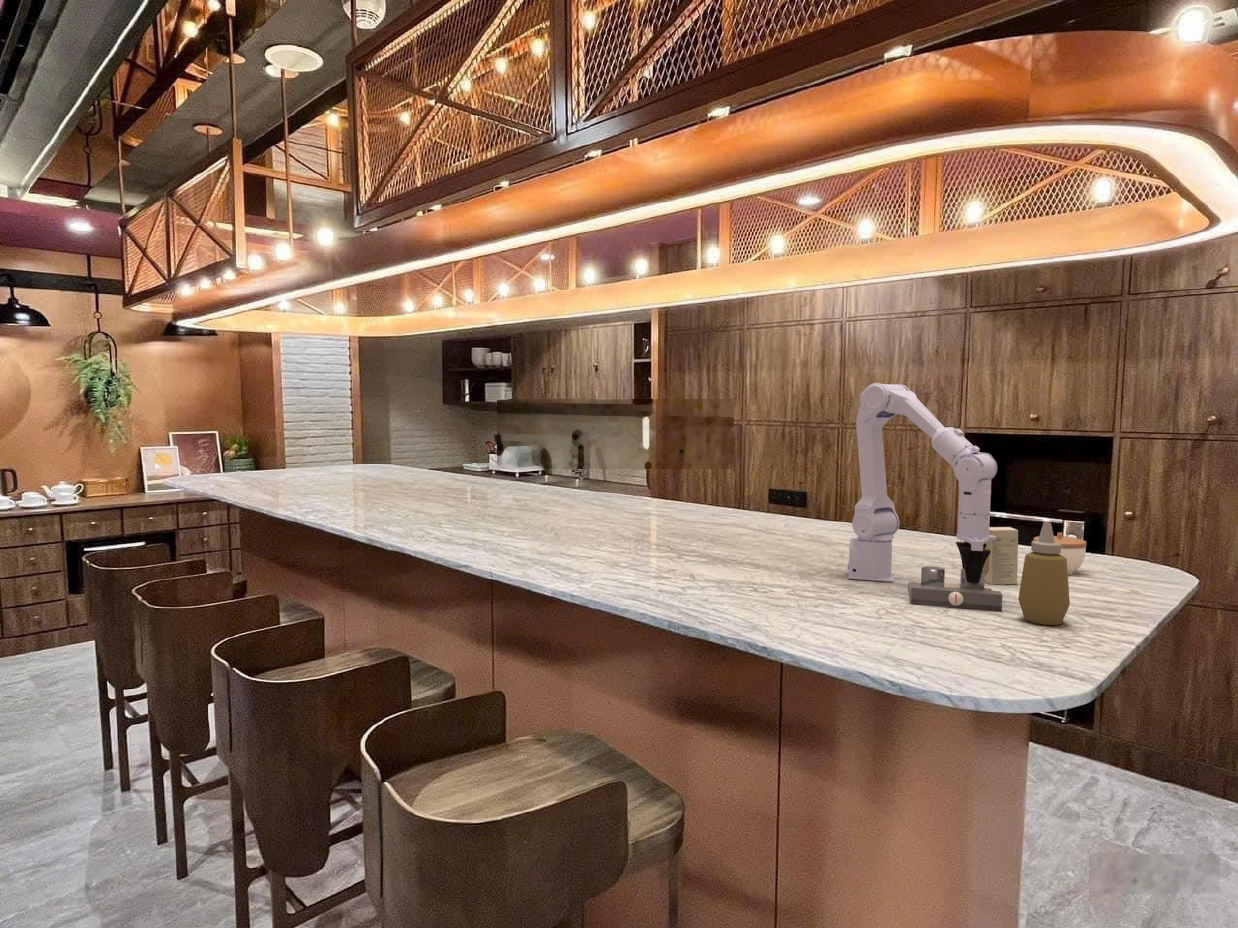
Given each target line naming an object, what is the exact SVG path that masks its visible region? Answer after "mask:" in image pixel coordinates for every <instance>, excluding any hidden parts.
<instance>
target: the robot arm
mask: <svg viewBox="0 0 1238 928" xmlns="http://www.w3.org/2000/svg"><path fill="white" fill-rule="evenodd" d="M859 401H860V405H859V410H858V413H857V416H856V419H855V420H856V421H855V423H856V426H855V427H856V437H857V438H856V439H857V450H858V463H859V464H858V465H859V477H860V491H861V497H860V499H859V500H858V502H857V503H856V504H855V506H854V516H853V517H852V521H851V522H852V530H853V532H854V533H855V535H856V536H857V537H856V538H855V537H851V538H850V537H849V545H848V546H849V547H848V548H849V550H848V562H847V571H848V577H847V578H848V579H849V580H850V579H851V580H861V581H863V580H864V581H873V582H875V581H876V582H886V583H887V582H888V583H893V582H894V572H892V567H893V562H892V559H893V539H894V534H896V533H897V532H898V530H899V528H900V518H899V516H898V514H897V512H896V507H895V503H894V502H893V501H892V499H891V498H890V497H889V496H888V488H887V487H888V485H887V477H886V476H887V475H886V463H885V462H886V461H885V447H884V439H883V438H884V437H883V436H884V435H883V427H884V426H885V424H886V423H888V421H889V420H891V419H892V418H893V417H895V416H897V415H902V416H905V417H906V418H908V419H909V420H910V422H912V423H913V424H914V425H916V427H918V428H919V429H920V430H921V431H922V432H923V433H925V434H926V435H927V436H928V437H929V438H931V447H932V448H933V449H934V450H935V451H936V452H937V454H939V455H940V456H941V457H942V458H943V459H944V461H946V462H947V463H948V464H949V465H951V467H952V470H953V474H954V476H955V478H956V479H957V481H958V513H957V515H958V516H957V533H956V535H955V537H956V539H957V540H960V541H956V542H955V544H956V547H957V548H958V549H957V550H958V551H959V554H960V560H961V567H962V569H963V568H965V575H966V580H967V582H968V583H979V581H980V578H981V574H982V570H983V567H984V564H985V561H986V559H987V558H988V556H989V555H990V553H991V551H990V550H987V549H985V548H986V546H987V544H986V542H987V541H989V540H996V537H995V536H993V535H989V527H990V522H991V521H990V518H991V498H992V497H991V495H992V479H994V477H995V476H996V475H997V472H998V464H997V461H996V460H995V458H993V455H992V454H990V453H988V452H987V453H986V452H980V450H981V448H980V447H978V446H977V445H973V444H972V443H971V442H970V441H969V440H968V439H967V438H965V436H963V435H964V432H963V431H962V430H961V429H960V428H955V427H951V426H949V427H945V426H944V425H943V424H942V423H941V421H939V419H937V418H936V417H935V416H934V414H933V413H932V412H931V411H930V410H929V409H928V408H927V407H926V406H925V405H924V404H923V402H922V401H920V400H919V398H918V397H917V394H916V393H915V392H914V391H912V390H910V388H908V386H906V385H904V384H901V383H896V384H887V383H880V382H874V383H871V384H868V386H867V387H866V388H865V389H864V390H863V391H862V392H861V393H860V394H859Z"/></svg>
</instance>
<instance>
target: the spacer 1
mask: <svg viewBox="0 0 1238 928" xmlns="http://www.w3.org/2000/svg"><path fill="white" fill-rule="evenodd" d="M920 573H921V575H920V576H921V577H920V583H921V585H925V586H938V587H944V582H945V579H946V577H945V576H946V575H945V573H946V570H945V568H943V567H939V566H932V565H931V566H930V565H929V566H928V565H927V566H922V567H921V572H920Z"/></svg>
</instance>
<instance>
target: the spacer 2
mask: <svg viewBox="0 0 1238 928" xmlns="http://www.w3.org/2000/svg"><path fill="white" fill-rule="evenodd" d="M985 583H986V582H985V571H984V570H982V574H981V578H980V581H979V583H968V582H967V580H966V575H965V568H963V567H962V568H961V569H960V583H959V584H960V588H963V589H976V590H984V588H985Z"/></svg>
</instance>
